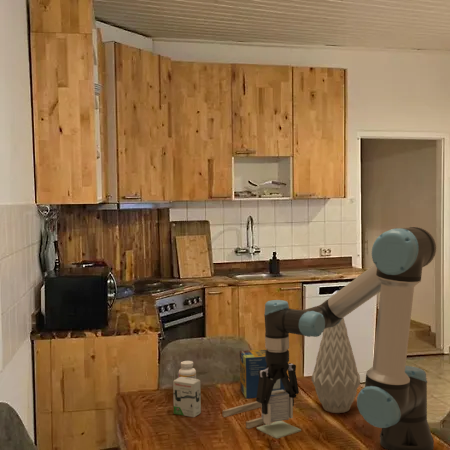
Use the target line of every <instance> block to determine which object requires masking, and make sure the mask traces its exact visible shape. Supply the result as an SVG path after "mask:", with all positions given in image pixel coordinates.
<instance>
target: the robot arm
mask: <svg viewBox="0 0 450 450" xmlns="http://www.w3.org/2000/svg"><path fill="white" fill-rule="evenodd" d="M436 253H437V244H436V240H435V239H434V236H433V235H432V234H431V233H430V232H429V231H427V230H426V229H425V228H422V227H418V226H415V227H414V226H413V227H411V226H410V227H401V228H398V227H396V228H391V229H389V230H386V231H384V232H382V233H381V234H379V236H377V238H376V239H375V241H374V242H373V244H372V248H371V260H372V262H373V264H372V266H371V267H369V268H367V269H366V270H365V271H363V272H362V273H361V274H360V275H358V276H357V277H355V278H354V279H353V280H352V281H351V282H348V284H346V285H345V286H343V287H342V288H341V289H339V290H338V291H337V292H335V293H334V294H333V295H331V296H330V297H329V298H328V299H326V300H325V301H324V302H322V303H320V304H319V305H316V306H312V307H309V308H305V309H297V308H296V309H295V308H290V306H289V302H288V301H287V300H282V299H273V300H268V301H266V302H265V303H264V316H263V317H264V328H265V331H264V345H265V346H264V347H265V349H267V350H266V351H265V360H266V363H267V366H266V369H265V370H259V371H258V373H259V382H258V390H257V397H256V398H255V401H257V402H259V403H261V404H262V408H261V414H262V413H263V417H264V423H265V424H264V425H266V424H268V425H271V423H272V422H271V404H269V400H270V396H271V393H272V390H273V387H274V384H275V383H276V381H277V380H278V379H281V381H282V383H283V386H284V388H285V391H286V392H287V393H288V394H289V419H293V418H294V416H293V415H294V411H293V407H294V406H295V398H297V395H299V394H300V389H299V384H298V377H297V371H296V370H297V364H294V363H291V362H290V350H289V349H290V334H293V335H300V336H305V337H309V338H310V337H314V338H315V337H316V338H318V337H321V335H322V334H323V331H324V329H326V328H329V327H333V326H335V325H337V324H339V323H340V322H341V320H342V318H344V319H345V317H346V316H348V315H349V314H351V313H352V312H354V311H355V310H356V309H358V308H359V307H361V306H362V305H364V304H365V303H366V302H368V301H369V300H371V299H372V298H373V297H375V296H376V295H378V294H379V302H378V312H377V319H376V320H377V322H376V330H375V331H376V332H375V339H374V340H375V342H374V351H373V358H372V360H373V361H372V367H371V368H369V369H368V370H366V372H365V374H366V375H365V380H364V382H365V383H364V387H362V388H361V389H360V391H359V393H358V394H357V397H356V406H357V409H358V412H359V414H360V415H361V416H362V417H363V419H364V421H365V422H367V423H368V424H369V425H371V426H372V427H375V428H379V429H381V431H380V433H379V444H380V445H381V447H383V448H384V449H385V450H434V446H435V443H434V442H435V441H434V437H433V435H432V431H431V429H430V426H429V423H428V405H427V404H428V380H427V373H426V371H425V370H424V369H422V368H420V367H416V366H411V365H407V356H408V348H409V346H408V345H409V337H410V330H411V329H410V328H411V321H412V320H411V319H412V318H411V317H412V310H413V309H412V308H413V300H414V299H413V298H414V292H415V287H416V286H417V285H418V284H419V283H421V282H422V274H423V272H422V271H423V268H424V267H426V266H428V265H429V264H430V263H432V261H433V260H434V258H435V256H436ZM267 373H268V375H267ZM271 379H273V380H271Z"/></svg>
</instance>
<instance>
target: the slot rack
mask: <svg viewBox="0 0 450 450" xmlns="http://www.w3.org/2000/svg"><path fill="white" fill-rule="evenodd" d="M259 408H261V403H259V402H257V401H256V400H255V401H252V402H249V403H245V404H241V405H238V406H234V407H229V408H227V409H226V408H225V409H223V410H222V411H221V412H222V413H221V414H222V417H223V418H227V417H230V416H234V415H237V414H240V413H244V412H248V411H253V410H256V409H259ZM262 424H263V425H266V424H265V423H264V420H263V419H262V416H261V417H256V418H254V419H253V418H252V419H251V420H247V421H245V428H246V429H247V430H249V429H253V428H255V427H256V428H257V427H260V426H263V425H262Z"/></svg>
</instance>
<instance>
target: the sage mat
mask: <svg viewBox="0 0 450 450" xmlns="http://www.w3.org/2000/svg"><path fill="white" fill-rule="evenodd" d="M256 430H258V431H260V432H262V433H264V434H266V435H268V436H270V437H272V438H275V439H278V440H279V439H281V438H284V437H287V436H290V435H293V434H296V433H299V432H301V431H302V429H301V428H299V427H296V426H294V425H291V424H290V423H287V422H285V421H284V420H282V421H276V422H271V425H268V424H263V425H259V426H256Z"/></svg>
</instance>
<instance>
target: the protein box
mask: <svg viewBox="0 0 450 450" xmlns="http://www.w3.org/2000/svg"><path fill="white" fill-rule="evenodd" d="M266 350H267V349H266V348H265V349H253V350H252V349H251V350H239V377H240V378H239V379H240V381H239V384H240V386H239V387H240V389H239V390H240V391H241V393H242V394H243V396H244V398H245V399H256V397H257V390H258V382H259V373H258V371H259V370H265V369H266V366H267V363H266V360H265V351H266ZM267 375H268V373H267ZM271 380H273V379H271ZM276 390H284V391H286V390H285V388H284V386H283V383H282V381H281V379H278V380H277V381H276V383H275V384H274V387H273V390H272V391H276Z"/></svg>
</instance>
